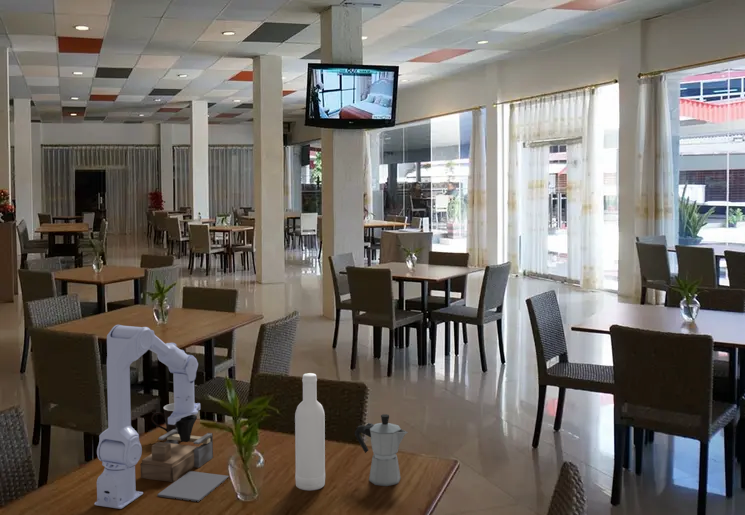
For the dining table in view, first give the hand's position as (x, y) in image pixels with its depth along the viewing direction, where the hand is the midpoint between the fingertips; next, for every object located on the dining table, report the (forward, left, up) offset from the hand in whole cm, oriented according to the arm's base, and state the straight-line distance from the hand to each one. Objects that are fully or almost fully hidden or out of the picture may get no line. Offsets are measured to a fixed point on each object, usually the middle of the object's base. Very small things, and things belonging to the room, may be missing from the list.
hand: (185, 441), depth 210 cm
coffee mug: (+16, +14, -6) cm, 22 cm away
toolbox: (-5, 0, -6) cm, 8 cm away
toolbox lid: (-8, 0, -2) cm, 8 cm away
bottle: (-6, -41, -6) cm, 42 cm away
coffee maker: (+3, -58, -6) cm, 58 cm away
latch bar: (+2, 0, 0) cm, 2 cm away
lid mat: (-16, -12, -6) cm, 21 cm away
